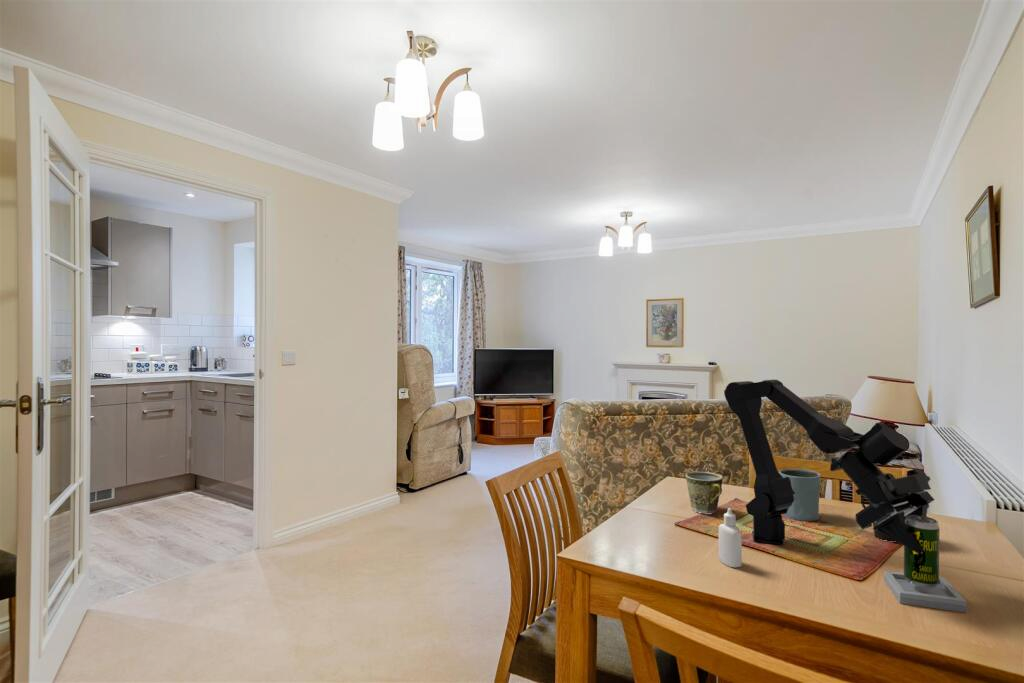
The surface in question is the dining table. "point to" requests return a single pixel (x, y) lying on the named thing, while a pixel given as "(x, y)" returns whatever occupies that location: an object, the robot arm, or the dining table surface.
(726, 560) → the eye dropper bottle
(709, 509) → the ceramic cup
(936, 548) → the green soda can
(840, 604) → the dining table surface
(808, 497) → the blue-grey flared vase
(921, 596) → the coaster
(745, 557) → the dining table surface
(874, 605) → the dining table surface
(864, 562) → the dining table surface
